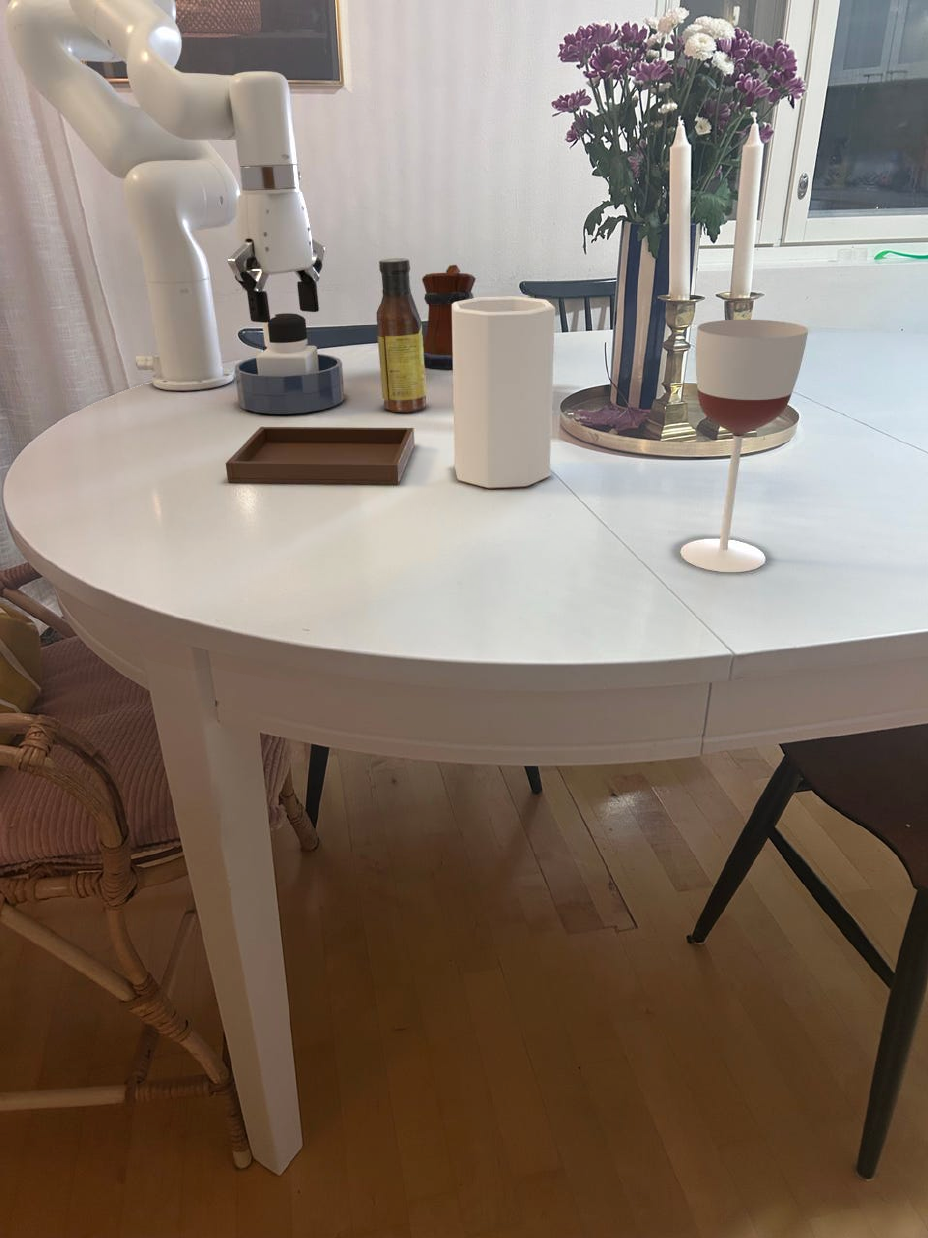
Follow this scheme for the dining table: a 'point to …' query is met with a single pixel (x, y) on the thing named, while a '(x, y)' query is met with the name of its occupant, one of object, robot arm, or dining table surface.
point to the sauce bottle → (400, 340)
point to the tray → (322, 456)
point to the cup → (502, 390)
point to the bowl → (290, 388)
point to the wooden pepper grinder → (443, 313)
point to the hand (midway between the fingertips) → (285, 316)
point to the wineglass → (742, 408)
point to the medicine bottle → (286, 347)
